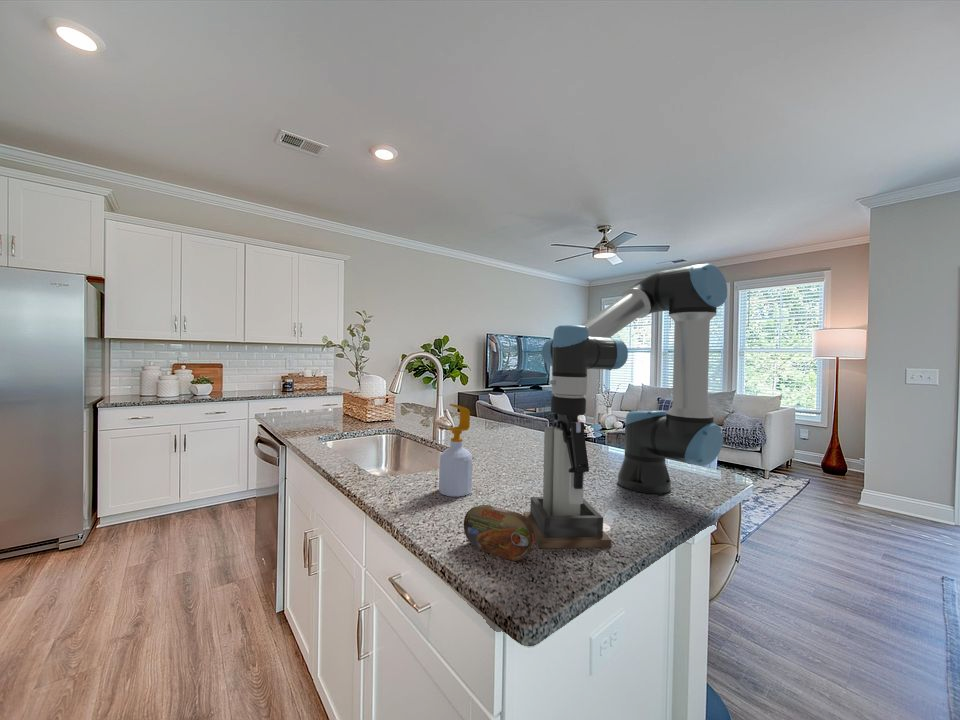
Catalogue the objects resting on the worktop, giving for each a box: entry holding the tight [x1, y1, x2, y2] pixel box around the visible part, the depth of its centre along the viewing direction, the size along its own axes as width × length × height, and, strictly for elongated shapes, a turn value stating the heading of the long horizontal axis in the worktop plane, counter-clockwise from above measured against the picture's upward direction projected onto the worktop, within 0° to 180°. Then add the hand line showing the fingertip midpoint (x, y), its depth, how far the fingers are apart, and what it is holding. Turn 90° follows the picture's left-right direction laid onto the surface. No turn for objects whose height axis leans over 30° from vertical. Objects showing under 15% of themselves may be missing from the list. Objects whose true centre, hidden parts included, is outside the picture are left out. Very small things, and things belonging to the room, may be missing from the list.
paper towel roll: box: [542, 426, 580, 516], centre depth 89 cm, size 7×6×21 cm
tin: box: [463, 504, 536, 562], centre depth 78 cm, size 15×3×8 cm, turn 56°
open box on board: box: [523, 496, 612, 549], centre depth 88 cm, size 15×15×6 cm
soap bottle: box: [438, 403, 473, 498], centre depth 112 cm, size 9×9×25 cm
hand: (565, 492), depth 88 cm, fingers open, 13 cm apart
